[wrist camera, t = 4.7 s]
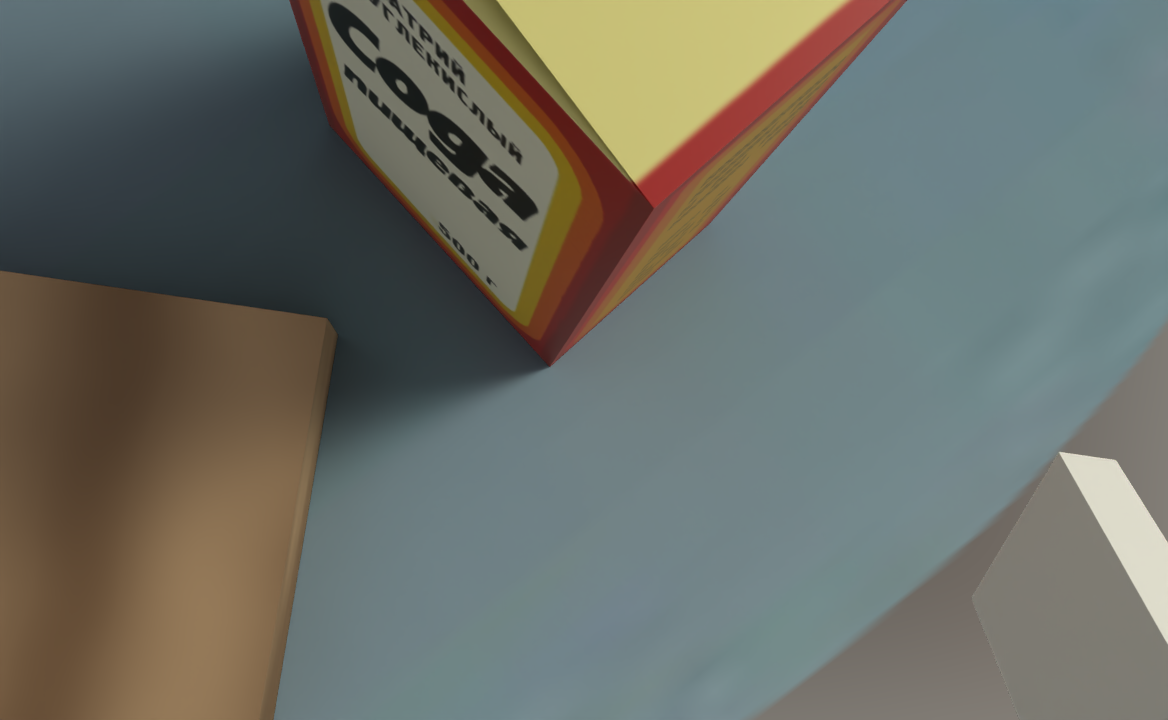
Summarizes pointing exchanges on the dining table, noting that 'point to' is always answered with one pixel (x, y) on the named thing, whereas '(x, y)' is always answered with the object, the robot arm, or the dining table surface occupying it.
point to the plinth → (151, 499)
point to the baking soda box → (572, 127)
